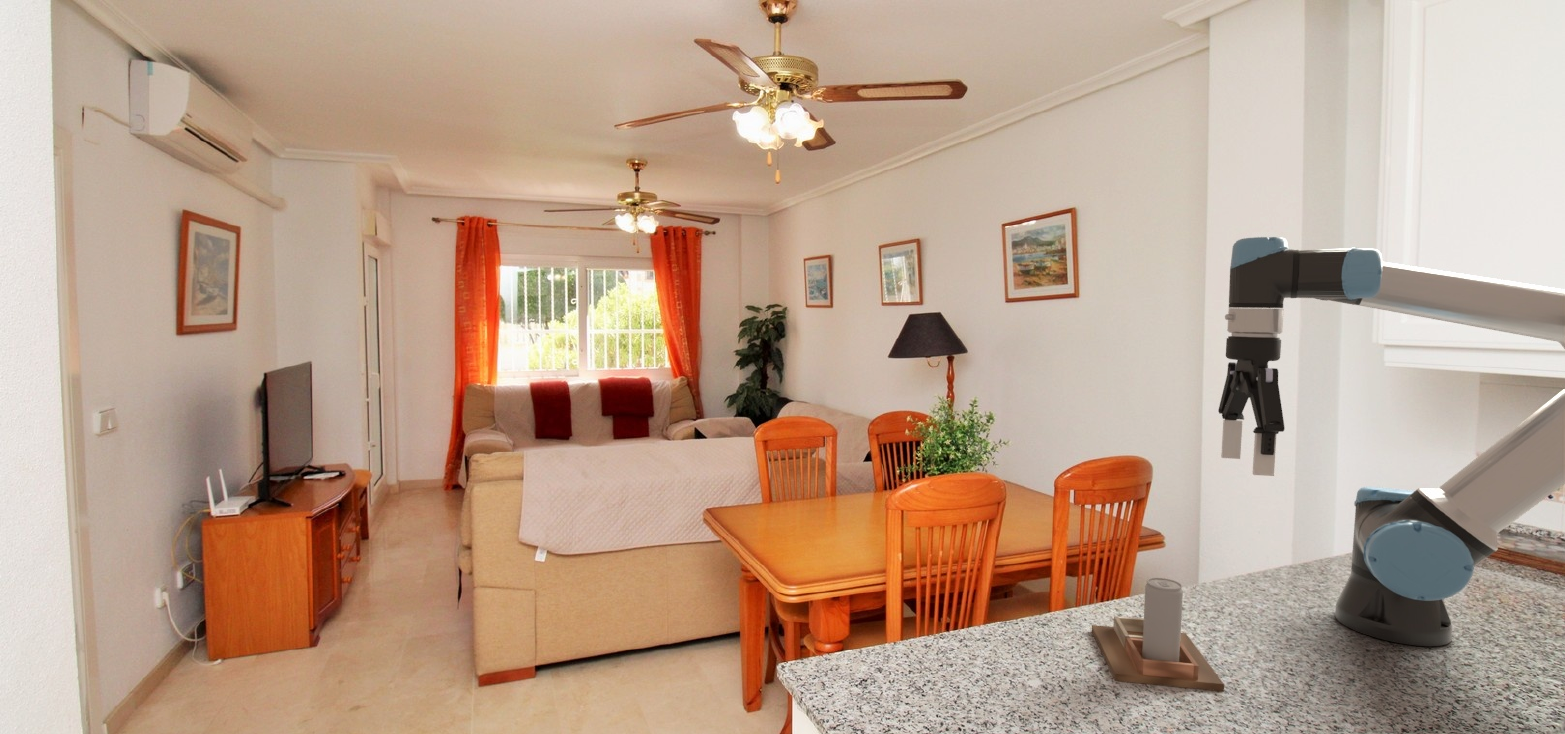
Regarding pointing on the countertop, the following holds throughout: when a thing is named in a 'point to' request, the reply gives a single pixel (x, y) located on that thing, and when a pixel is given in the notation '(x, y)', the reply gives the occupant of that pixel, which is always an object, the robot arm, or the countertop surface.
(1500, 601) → the countertop surface
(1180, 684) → the socket board
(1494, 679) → the countertop surface
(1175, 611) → the beverage can
